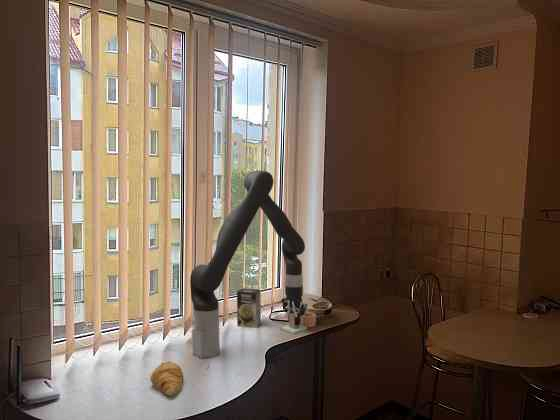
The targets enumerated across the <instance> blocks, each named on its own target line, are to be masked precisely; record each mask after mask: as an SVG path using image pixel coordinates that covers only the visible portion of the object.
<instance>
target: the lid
mask: <svg viewBox="0 0 560 420" xmlns="http://www.w3.org/2000/svg"><path fill="white" fill-rule="evenodd" d="M297 314H298V312H297ZM281 329H282V330H281V331H283V330H285V331H284V332H286V331H288V332H287V333H289V332H291V333H294V334H293V335H296V334H295V333H297V334H299V333H298V332H300V333H302V332H301V331H303V330H306V329H308V327H304V326H301V324H299V325H297V326H296V325H295V312H293V313H290V314H289V321H288V325H285V326H283V327H281ZM306 331H307V330H306ZM303 332H304V331H303ZM291 333H290V334H291Z"/></svg>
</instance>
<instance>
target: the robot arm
mask: <svg viewBox="0 0 560 420" xmlns="http://www.w3.org/2000/svg"><path fill="white" fill-rule="evenodd" d="M243 186H244V188H245V190H246V191H247V193H246V195H245V197H244V199H243V200H241V202H240V203H239V204H238V205H237V206H236V207H235V208H234V209H233V210H232V211H231V212H230V213H229V214H228V215H227V216H226V218H225V220H224V221H223V223H222V225H221V227H220V229H219V231H218V234H217V239H216V246H215V250H214V253H213V255H212V257H211V259H210V261H209V262H208V264H198V265H196V266H195V267H194V268H193V269H192V271H191V274H190V276H189V277H190V279H189V282H190V298H191V302H192V304H193V328H192V330H191V338H192V354H193V355H194V356H197V357H198V358H200V359H204V358H212V357H216V356H217V355H219V354H220V352H221V349H220V348H221V347H220V345H221V344H220V341H221V340H220V316H219V315H220V308H219V305H220V304H219V300H218V298H217V297H216V294H215V291H216V290H217V289H219V287H220V285H221V283H222V282H223V279H224V277H225V274H226V272H227V269H228V267H229V265H230V263H231V261H232V259H233V257H234V255H235V253H236V252H237V250H238V247H239V245H240V244H241V243H242V240H243V239H244V238H245V236H246V233H247V231H248V230H249V227H250V225H251V223H252V222H253V220H254V218H255V216H256V214H257V212H258V211H259V209H261V210H262V211H263V213H264V214H265V215H266V217H267V219H268V220H269V222H270V224H271V226H272V228H273V230H274V231H275V233H276V235H277V236H278V237H280V238H281V239H282V243H281V253H282V256H283V259H284V266H285V270H284V272H285V273H284V274H285V276H284V294H285V297H284V298H281V304H282V306H283V310H284V313H286V314H287V315H288V322H289V314H290V313H293V312H295V325H296V326H297V325H301V316H303V315H304V313H306V310H307V307H308V303H304V302H303V298H302V297H303V295H304V289H303V286H304V285H303V283H304V280H303V264H302V263H303V262H302V261H301V260H300V259H299V258H298V256H299V255H302V254H303V253H304V252H305V248H306V244H305V240H304V239H303V237H302V236H301V235H300V233H298V231H297V230H296V229H295V228H294V227H293V225H292V223H291V222H290V220H289V217H288V216H287V214H286V213H285V212H284V211H283V210H282V208H281V207H280V205H278V204H277V203H276V202H275V201H274V199H273V198H272V197H271V196H270V194H271V193H270V192H271V190H273V187H274V177H273V175H272V173H270V172H269V171H266V170H253V171H249V172H248V173H246V175H245V176H244V177H243ZM297 313H298V314H297Z"/></svg>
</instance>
